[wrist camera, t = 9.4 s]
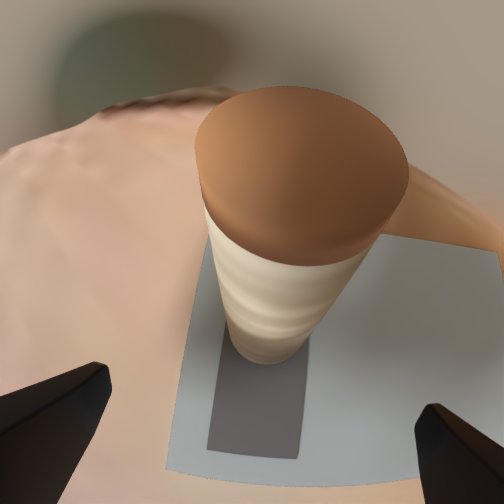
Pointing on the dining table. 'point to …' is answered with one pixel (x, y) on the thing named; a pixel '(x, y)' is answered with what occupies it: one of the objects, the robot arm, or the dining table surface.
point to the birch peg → (292, 208)
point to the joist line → (257, 404)
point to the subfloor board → (363, 368)
